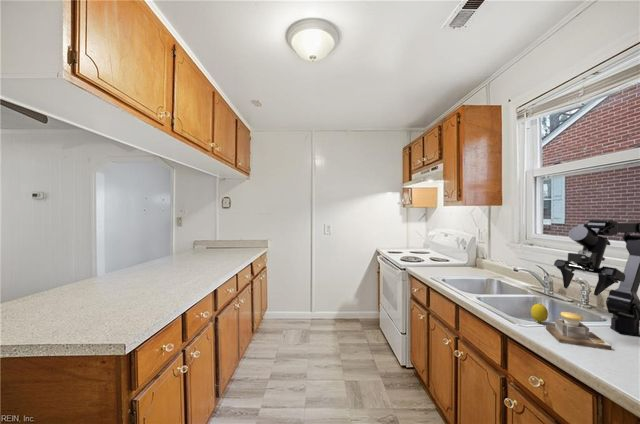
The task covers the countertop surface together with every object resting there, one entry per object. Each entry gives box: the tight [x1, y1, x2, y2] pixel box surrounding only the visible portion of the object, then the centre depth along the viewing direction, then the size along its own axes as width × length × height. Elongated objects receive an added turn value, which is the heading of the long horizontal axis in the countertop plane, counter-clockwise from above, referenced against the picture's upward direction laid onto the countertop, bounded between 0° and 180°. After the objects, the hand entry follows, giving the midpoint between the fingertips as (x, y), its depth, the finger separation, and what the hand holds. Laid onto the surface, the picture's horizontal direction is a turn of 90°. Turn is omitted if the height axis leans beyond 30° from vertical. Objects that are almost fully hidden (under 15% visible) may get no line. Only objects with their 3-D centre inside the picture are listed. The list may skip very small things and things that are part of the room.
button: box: [560, 311, 584, 327], centre depth 103 cm, size 6×6×5 cm
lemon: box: [530, 302, 549, 324], centre depth 116 cm, size 6×6×8 cm
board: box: [545, 318, 612, 351], centre depth 102 cm, size 14×12×5 cm
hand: (579, 291), depth 101 cm, fingers open, 9 cm apart
